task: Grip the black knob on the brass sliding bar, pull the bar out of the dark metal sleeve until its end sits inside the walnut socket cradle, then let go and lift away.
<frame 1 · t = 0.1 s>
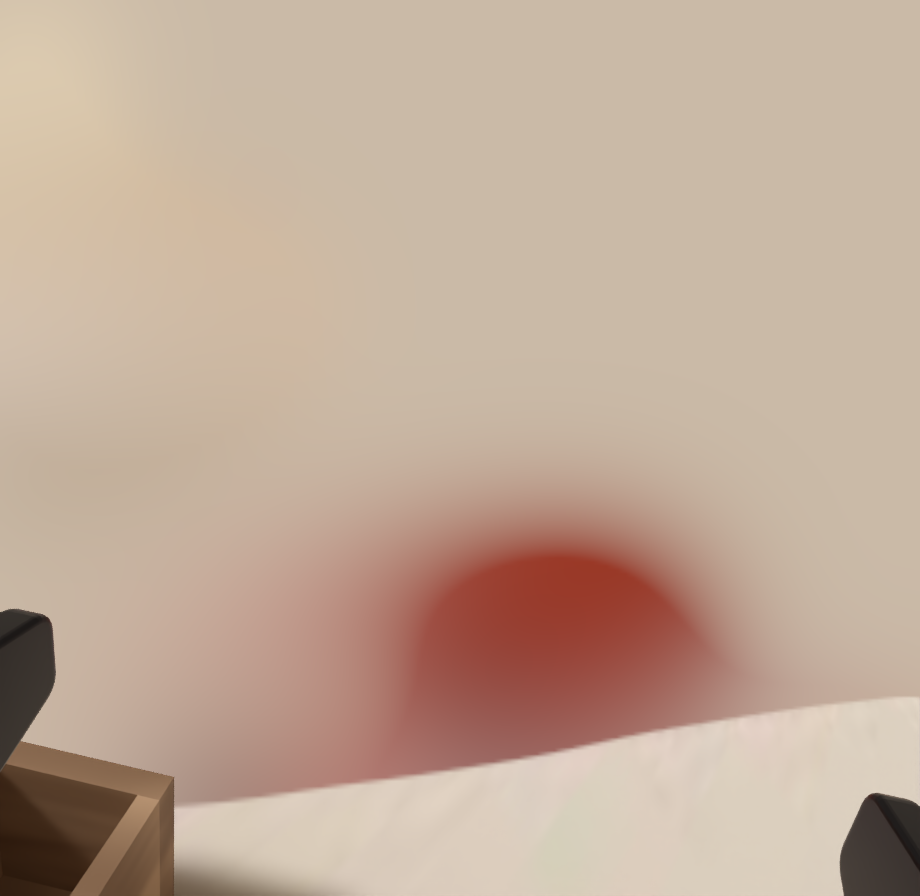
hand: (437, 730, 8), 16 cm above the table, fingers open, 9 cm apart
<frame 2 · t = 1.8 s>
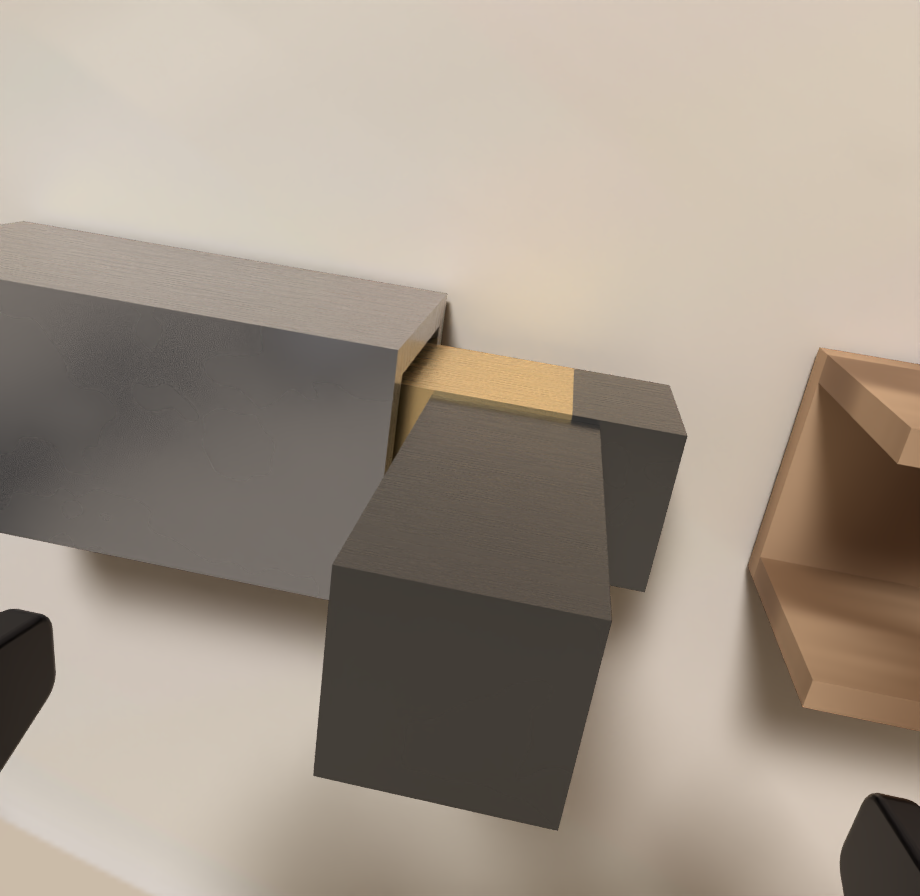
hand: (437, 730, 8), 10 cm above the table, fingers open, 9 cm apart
slider: (233, 473, 13), point 6 cm above the table, slide at 0.0 cm
socket: (895, 484, 17), on the table
sleeve: (227, 362, 19), on the table
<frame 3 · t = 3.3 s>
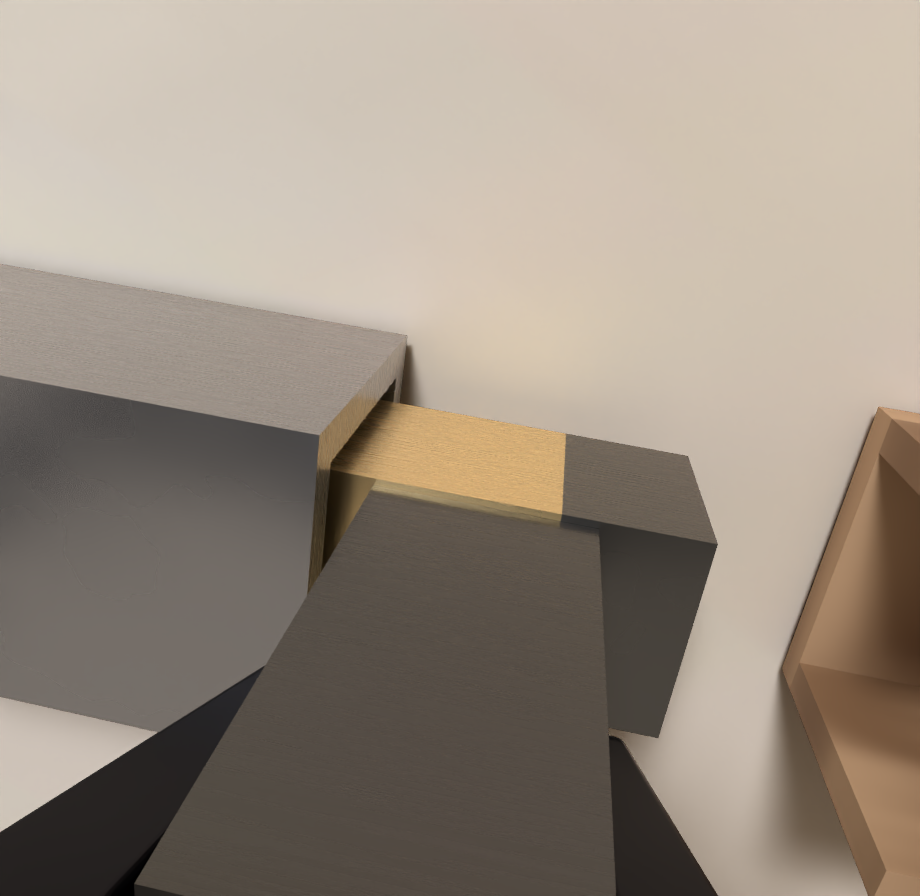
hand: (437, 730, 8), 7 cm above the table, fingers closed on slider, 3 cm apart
slider: (99, 596, 10), point 6 cm above the table, slide at 0.0 cm, touching gripper
sleeve: (139, 416, 15), on the table
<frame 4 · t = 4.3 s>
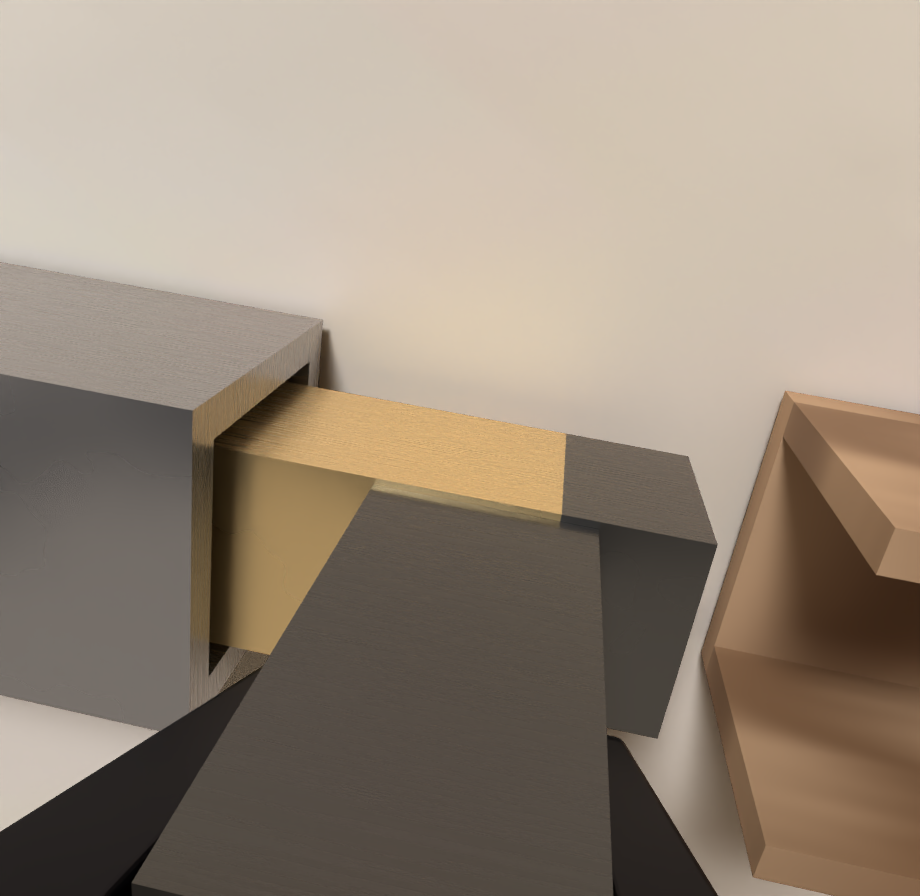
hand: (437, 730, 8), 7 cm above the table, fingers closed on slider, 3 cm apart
slider: (98, 595, 10), point 5 cm above the table, slide at 1.5 cm, touching gripper
socket: (881, 558, 14), on the table
sleeve: (64, 401, 15), on the table
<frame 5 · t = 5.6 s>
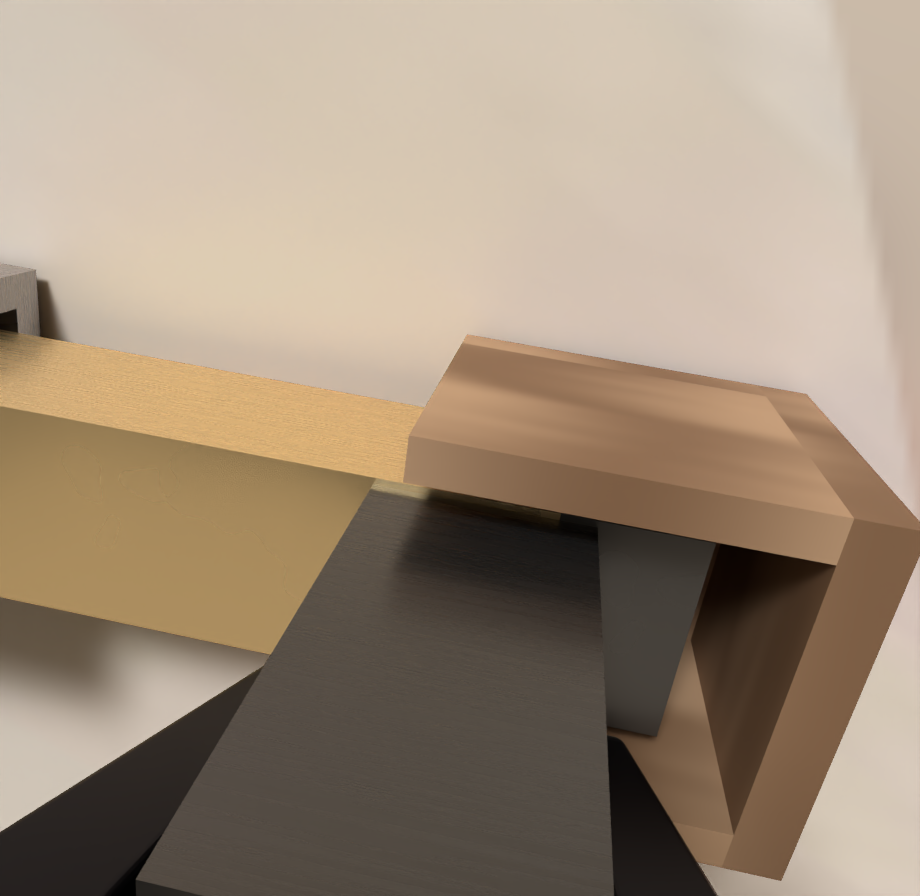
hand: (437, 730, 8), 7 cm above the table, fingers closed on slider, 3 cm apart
slider: (99, 595, 10), point 6 cm above the table, slide at 6.9 cm, touching gripper
socket: (579, 499, 14), on the table
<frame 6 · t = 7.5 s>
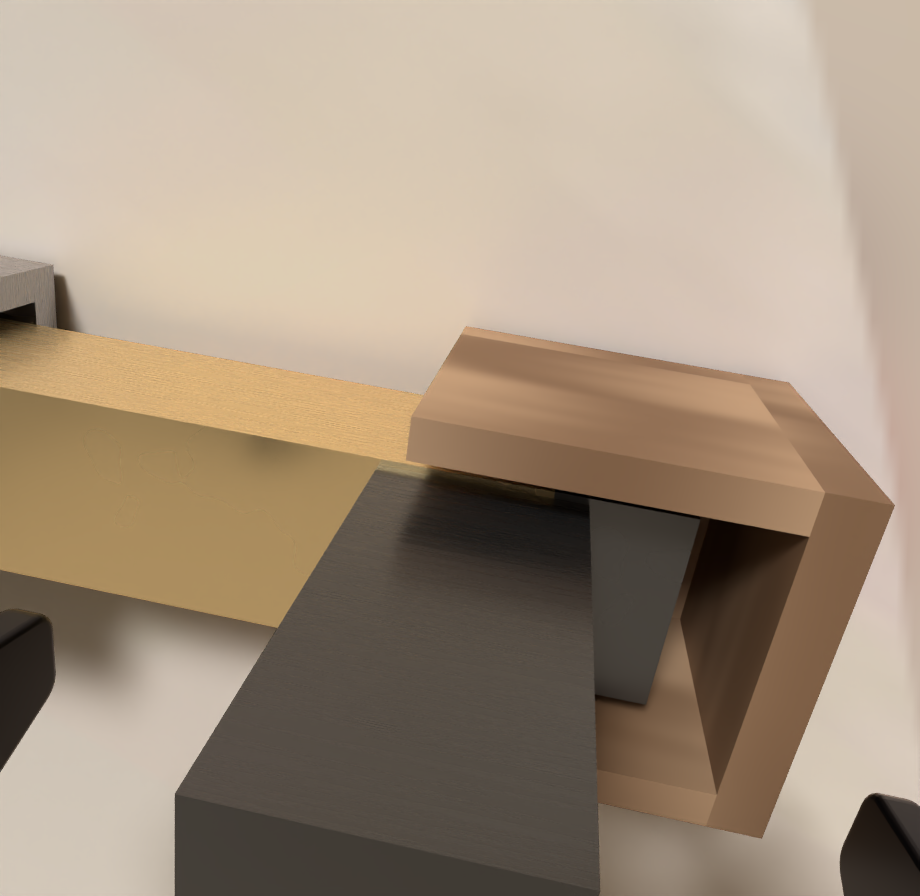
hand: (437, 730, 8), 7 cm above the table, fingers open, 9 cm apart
slider: (122, 568, 10), point 6 cm above the table, slide at 7.0 cm
socket: (573, 485, 15), on the table
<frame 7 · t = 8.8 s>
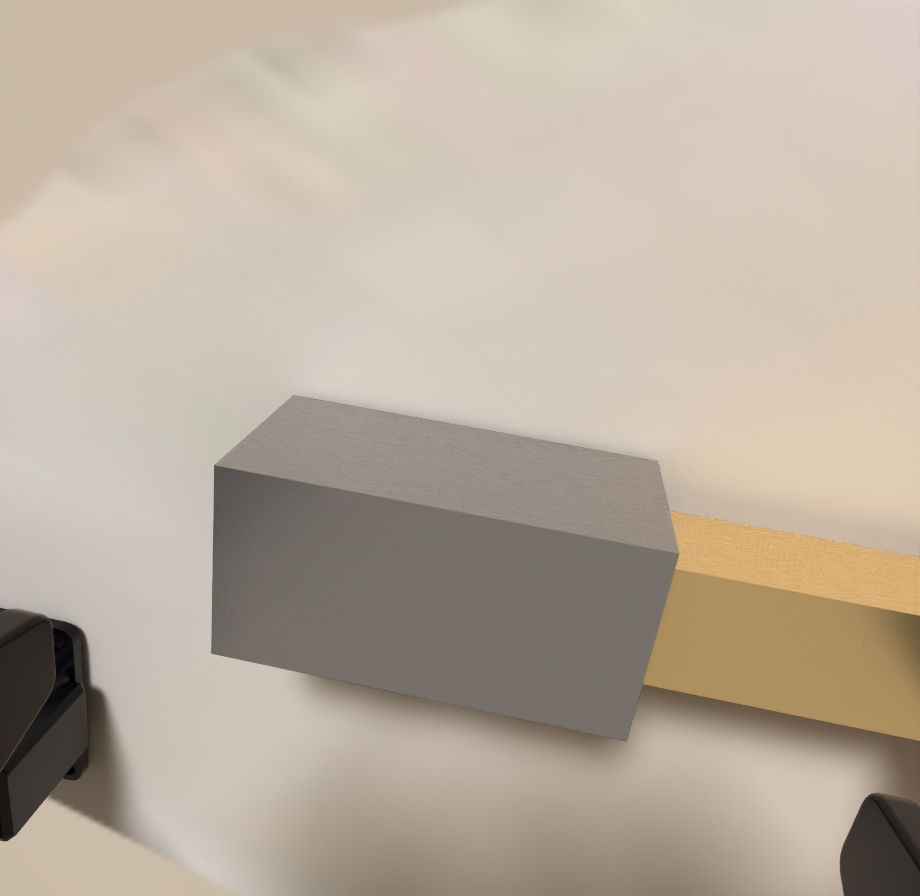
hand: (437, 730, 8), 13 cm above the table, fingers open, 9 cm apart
slider: (869, 710, 16), point 5 cm above the table, slide at 7.0 cm
sleeve: (459, 509, 22), on the table
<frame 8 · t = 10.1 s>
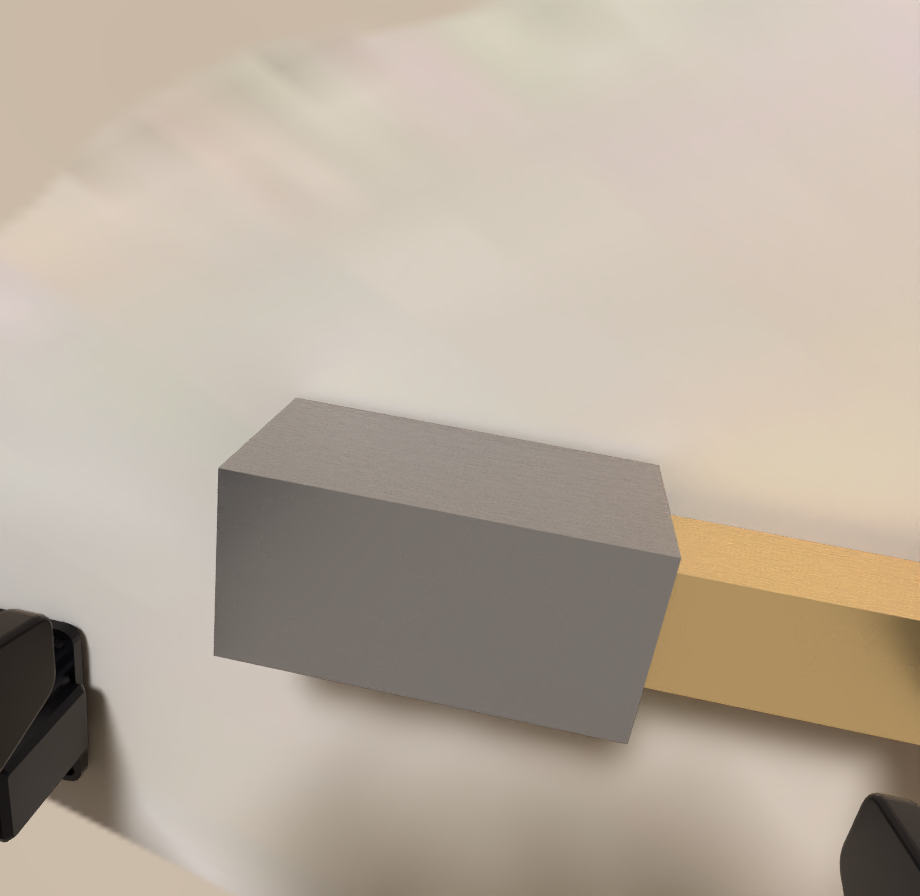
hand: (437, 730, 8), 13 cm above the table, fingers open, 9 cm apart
slider: (868, 714, 16), point 5 cm above the table, slide at 7.0 cm
sleeve: (460, 512, 22), on the table
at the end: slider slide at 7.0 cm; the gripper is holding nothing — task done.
